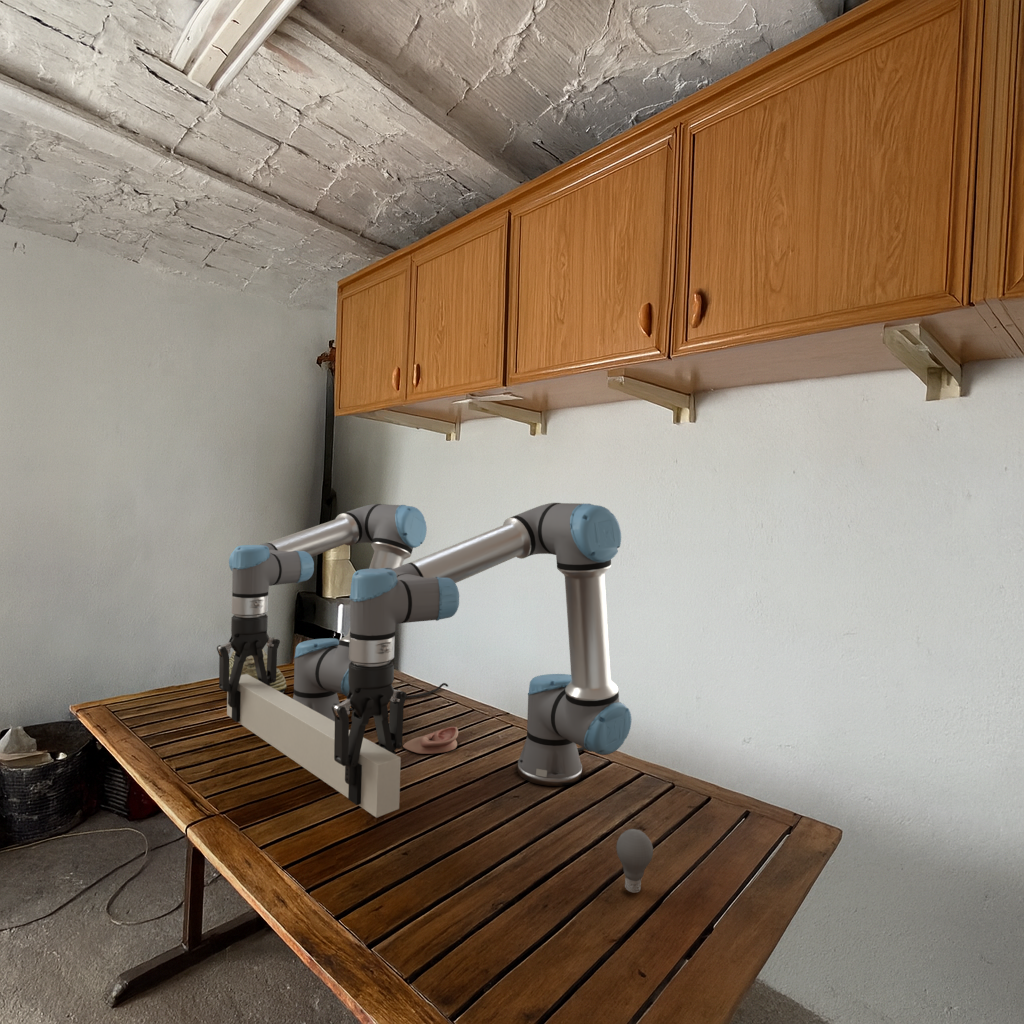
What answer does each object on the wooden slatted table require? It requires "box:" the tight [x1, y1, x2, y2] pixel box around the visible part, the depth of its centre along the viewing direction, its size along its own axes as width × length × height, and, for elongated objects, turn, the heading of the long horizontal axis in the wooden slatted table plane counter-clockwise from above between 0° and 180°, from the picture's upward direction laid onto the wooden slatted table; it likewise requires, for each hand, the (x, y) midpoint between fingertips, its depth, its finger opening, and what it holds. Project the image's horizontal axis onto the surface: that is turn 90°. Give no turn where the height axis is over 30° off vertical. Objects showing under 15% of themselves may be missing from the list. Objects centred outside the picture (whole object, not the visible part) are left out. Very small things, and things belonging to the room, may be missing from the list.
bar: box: [226, 674, 402, 819], centre depth 125 cm, size 61×4×9 cm, turn 45°
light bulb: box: [615, 828, 654, 894], centre depth 106 cm, size 6×6×10 cm
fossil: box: [229, 648, 288, 694], centre depth 198 cm, size 9×18×15 cm, turn 132°
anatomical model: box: [402, 726, 459, 755], centre depth 163 cm, size 13×4×12 cm
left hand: (247, 717), depth 142 cm, fingers closed on bar, 4 cm apart
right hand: (367, 796), depth 108 cm, fingers closed on bar, 4 cm apart
